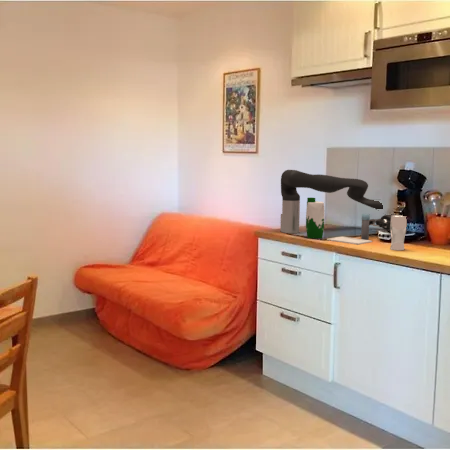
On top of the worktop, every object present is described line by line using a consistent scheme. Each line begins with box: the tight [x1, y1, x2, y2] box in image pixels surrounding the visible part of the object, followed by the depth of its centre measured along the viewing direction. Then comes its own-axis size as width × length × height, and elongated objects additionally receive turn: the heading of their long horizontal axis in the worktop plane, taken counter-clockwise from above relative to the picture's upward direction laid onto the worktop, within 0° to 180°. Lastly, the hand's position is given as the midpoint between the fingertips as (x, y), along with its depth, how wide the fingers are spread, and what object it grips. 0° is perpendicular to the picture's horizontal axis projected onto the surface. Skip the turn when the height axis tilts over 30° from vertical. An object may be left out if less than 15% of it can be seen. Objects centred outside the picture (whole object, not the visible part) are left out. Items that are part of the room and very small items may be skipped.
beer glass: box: [389, 214, 407, 251], centre depth 257 cm, size 7×7×15 cm
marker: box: [360, 213, 371, 240], centre depth 285 cm, size 4×4×12 cm
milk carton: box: [305, 197, 325, 239], centre depth 290 cm, size 9×9×20 cm
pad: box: [326, 236, 373, 245], centre depth 280 cm, size 18×12×1 cm, turn 42°
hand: (372, 224), depth 289 cm, fingers open, 8 cm apart
